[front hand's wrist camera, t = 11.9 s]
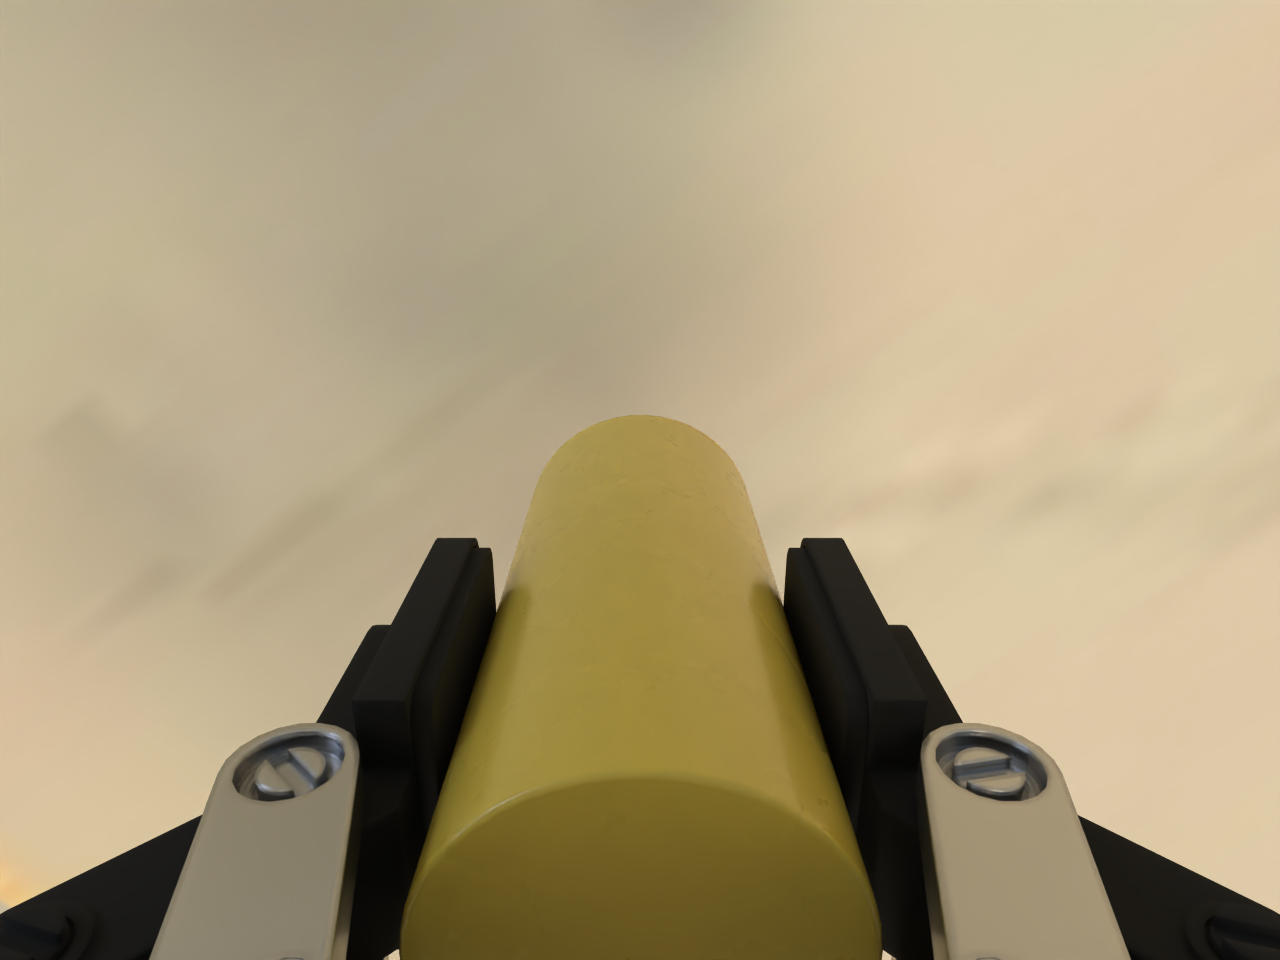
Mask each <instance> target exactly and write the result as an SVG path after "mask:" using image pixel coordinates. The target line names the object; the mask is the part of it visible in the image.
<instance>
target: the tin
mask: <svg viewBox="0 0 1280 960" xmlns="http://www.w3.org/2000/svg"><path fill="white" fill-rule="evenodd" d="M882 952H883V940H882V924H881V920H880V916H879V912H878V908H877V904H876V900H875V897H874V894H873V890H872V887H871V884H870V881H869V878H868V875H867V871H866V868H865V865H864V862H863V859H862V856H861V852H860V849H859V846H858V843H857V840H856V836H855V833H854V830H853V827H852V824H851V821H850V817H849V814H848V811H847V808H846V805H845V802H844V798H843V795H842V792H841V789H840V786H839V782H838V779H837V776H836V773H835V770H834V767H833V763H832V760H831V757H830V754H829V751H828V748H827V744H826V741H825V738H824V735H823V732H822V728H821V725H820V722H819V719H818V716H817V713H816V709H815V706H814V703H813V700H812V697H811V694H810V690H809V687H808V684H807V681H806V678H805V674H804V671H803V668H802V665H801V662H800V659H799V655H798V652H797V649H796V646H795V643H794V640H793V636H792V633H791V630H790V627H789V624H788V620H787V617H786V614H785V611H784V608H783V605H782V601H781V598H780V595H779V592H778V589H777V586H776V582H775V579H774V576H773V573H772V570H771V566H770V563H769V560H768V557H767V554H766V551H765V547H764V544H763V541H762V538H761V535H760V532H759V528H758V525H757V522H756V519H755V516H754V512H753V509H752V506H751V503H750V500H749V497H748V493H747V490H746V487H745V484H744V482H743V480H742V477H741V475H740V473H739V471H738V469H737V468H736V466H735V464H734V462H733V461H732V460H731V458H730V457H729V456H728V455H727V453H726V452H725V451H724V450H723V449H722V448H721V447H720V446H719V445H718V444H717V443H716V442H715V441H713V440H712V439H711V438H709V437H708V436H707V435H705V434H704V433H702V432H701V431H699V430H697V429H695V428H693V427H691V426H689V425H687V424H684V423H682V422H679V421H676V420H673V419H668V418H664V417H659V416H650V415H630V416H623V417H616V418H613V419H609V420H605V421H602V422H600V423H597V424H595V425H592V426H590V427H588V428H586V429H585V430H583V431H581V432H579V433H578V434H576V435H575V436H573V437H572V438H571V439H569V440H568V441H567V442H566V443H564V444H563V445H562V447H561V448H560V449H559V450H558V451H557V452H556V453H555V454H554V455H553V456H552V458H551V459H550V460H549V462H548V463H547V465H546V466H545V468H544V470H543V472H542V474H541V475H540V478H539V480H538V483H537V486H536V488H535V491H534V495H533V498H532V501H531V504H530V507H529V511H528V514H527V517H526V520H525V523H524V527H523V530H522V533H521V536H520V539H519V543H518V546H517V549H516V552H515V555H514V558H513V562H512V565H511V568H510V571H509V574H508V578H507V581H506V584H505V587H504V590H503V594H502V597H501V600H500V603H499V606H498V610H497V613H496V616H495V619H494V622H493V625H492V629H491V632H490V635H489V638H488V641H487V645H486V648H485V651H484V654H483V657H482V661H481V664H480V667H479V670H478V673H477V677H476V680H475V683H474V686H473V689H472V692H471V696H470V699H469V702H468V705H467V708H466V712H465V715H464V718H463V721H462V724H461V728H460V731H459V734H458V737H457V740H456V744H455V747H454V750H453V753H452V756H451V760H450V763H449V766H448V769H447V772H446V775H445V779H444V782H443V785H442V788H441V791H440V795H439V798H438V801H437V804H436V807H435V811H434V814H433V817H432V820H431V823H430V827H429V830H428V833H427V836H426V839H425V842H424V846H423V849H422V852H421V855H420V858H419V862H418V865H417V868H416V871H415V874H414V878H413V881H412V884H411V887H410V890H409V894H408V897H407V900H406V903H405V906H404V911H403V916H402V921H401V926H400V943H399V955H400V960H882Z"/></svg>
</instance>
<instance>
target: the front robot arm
mask: <svg viewBox="0 0 1280 960" xmlns="http://www.w3.org/2000/svg"><path fill="white" fill-rule="evenodd" d="M783 608H784V611H785V614H786V617H787V620H788V624H789V627H790V630H791V633H792V636H793V640H794V643H795V646H796V649H797V652H798V655H799V659H800V662H801V665H802V668H803V671H804V674H805V678H806V681H807V684H808V687H809V690H810V694H811V697H812V700H813V703H814V706H815V709H816V713H817V716H818V719H819V722H820V725H821V728H822V732H823V735H824V738H825V741H826V744H827V748H828V751H829V754H830V757H831V760H832V763H833V767H834V770H835V773H836V776H837V779H838V782H839V786H840V789H841V792H842V795H843V798H844V802H845V805H846V808H847V811H848V814H849V817H850V821H851V824H852V827H853V830H854V833H855V836H856V840H857V843H858V846H859V849H860V852H861V856H862V859H863V862H864V865H865V868H866V871H867V875H868V878H869V881H870V884H871V887H872V890H873V894H874V897H875V900H876V904H877V908H878V912H879V916H880V920H881V924H882V940H883V950H884V951H886V952H887V953H889V954H890V955H891V956H892V957H891V960H1280V914H1278V913H1276V912H1275V911H1273V910H1271V909H1269V908H1267V907H1265V906H1263V905H1261V904H1259V903H1257V902H1255V901H1253V900H1251V899H1248V898H1246V897H1244V896H1242V895H1240V894H1238V893H1236V892H1234V891H1232V890H1230V889H1228V888H1226V887H1224V886H1222V885H1220V884H1218V883H1216V882H1214V881H1212V880H1210V879H1208V878H1206V877H1203V876H1201V875H1199V874H1197V873H1195V872H1193V871H1191V870H1189V869H1187V868H1185V867H1183V866H1181V865H1179V864H1177V863H1175V862H1173V861H1171V860H1169V859H1167V858H1165V857H1163V856H1161V855H1158V854H1156V853H1154V852H1152V851H1150V850H1148V849H1146V848H1144V847H1142V846H1140V845H1138V844H1136V843H1134V842H1132V841H1130V840H1128V839H1126V838H1124V837H1122V836H1120V835H1118V834H1116V833H1114V832H1111V831H1109V830H1107V829H1105V828H1103V827H1101V826H1099V825H1097V824H1095V823H1093V822H1091V821H1089V820H1087V819H1085V818H1083V817H1081V816H1079V815H1077V812H1076V809H1075V807H1074V804H1073V801H1072V799H1071V796H1070V793H1069V791H1068V788H1067V785H1066V782H1065V780H1064V777H1063V774H1062V772H1061V771H1060V769H1059V767H1058V766H1057V764H1056V762H1055V761H1054V759H1053V758H1051V757H1050V756H1049V755H1048V754H1047V753H1046V752H1045V751H1044V750H1043V749H1042V748H1041V747H1039V746H1038V745H1036V744H1034V743H1033V742H1031V741H1029V740H1028V739H1026V738H1024V737H1023V736H1021V735H1018V734H1015V733H1013V732H1010V731H1008V730H1005V729H1002V728H999V727H994V726H989V725H984V724H977V723H963V722H962V720H961V718H960V716H959V715H958V713H957V711H956V709H955V708H954V706H953V704H952V702H951V701H950V699H949V697H948V695H947V693H946V692H945V690H944V688H943V686H942V685H941V683H940V681H939V679H938V678H937V676H936V674H935V672H934V671H933V669H932V667H931V665H930V663H929V662H928V660H927V658H926V656H925V655H924V653H923V651H922V649H921V648H920V646H919V644H918V642H917V641H916V639H915V637H914V635H913V633H912V632H911V630H910V629H909V628H908V627H907V626H905V625H888V624H887V622H886V620H885V618H884V616H883V614H882V612H881V610H880V608H879V606H878V605H877V603H876V601H875V599H874V597H873V595H872V593H871V591H870V589H869V587H868V586H867V584H866V582H865V580H864V578H863V576H862V574H861V572H860V570H859V568H858V566H857V565H856V563H855V561H854V559H853V557H852V555H851V553H850V551H849V549H848V547H847V546H846V544H845V542H844V540H843V539H842V538H803V540H802V542H801V547H800V548H789V549H788V553H787V562H786V576H785V591H784V606H783ZM495 616H496V602H495V587H494V572H493V558H492V552H491V549H490V548H479V545H478V541H477V539H476V538H437V539H436V540H435V542H434V544H433V546H432V548H431V550H430V552H429V554H428V556H427V557H426V559H425V561H424V563H423V565H422V567H421V569H420V571H419V573H418V575H417V576H416V578H415V580H414V582H413V584H412V586H411V588H410V590H409V592H408V594H407V596H406V597H405V599H404V601H403V603H402V605H401V607H400V609H399V611H398V613H397V615H396V616H395V618H394V620H393V622H392V624H391V625H374V626H372V627H371V628H370V629H369V631H368V632H367V634H366V636H365V637H364V639H363V641H362V643H361V645H360V646H359V648H358V650H357V652H356V653H355V655H354V657H353V659H352V660H351V662H350V664H349V666H348V667H347V669H346V671H345V673H344V675H343V676H342V678H341V680H340V682H339V683H338V685H337V687H336V689H335V690H334V692H333V694H332V696H331V698H330V699H329V701H328V703H327V705H326V706H325V708H324V710H323V712H322V713H321V715H320V717H319V719H318V720H317V722H316V723H303V724H296V725H291V726H286V727H281V728H278V729H275V730H272V731H270V732H267V733H265V734H262V735H259V736H257V737H256V738H254V739H252V740H251V741H249V742H247V743H246V744H244V745H242V746H241V747H239V748H238V749H237V750H236V751H235V752H234V753H233V754H232V755H231V756H230V757H229V758H227V759H226V761H225V762H224V764H223V766H222V767H221V769H220V771H219V772H218V774H217V777H216V780H215V782H214V785H213V788H212V791H211V793H210V796H209V799H208V801H207V804H206V807H205V809H204V812H203V815H201V816H199V817H197V818H194V819H192V820H190V821H188V822H186V823H184V824H182V825H180V826H178V827H176V828H174V829H172V830H170V831H168V832H166V833H164V834H162V835H160V836H158V837H156V838H154V839H152V840H150V841H147V842H145V843H143V844H141V845H139V846H137V847H135V848H133V849H131V850H129V851H127V852H125V853H123V854H121V855H119V856H117V857H115V858H113V859H111V860H109V861H107V862H105V863H103V864H100V865H98V866H96V867H94V868H92V869H90V870H88V871H86V872H84V873H82V874H80V875H78V876H76V877H74V878H72V879H70V880H68V881H66V882H64V883H62V884H60V885H58V886H56V887H53V888H51V889H49V890H47V891H45V892H43V893H41V894H39V895H37V896H35V897H33V898H31V899H29V900H27V901H25V902H23V903H21V904H19V905H17V906H15V907H13V908H11V909H9V910H7V911H5V912H3V913H1V914H0V960H389V957H388V955H389V954H391V953H392V952H394V951H395V950H397V949H399V943H400V926H401V921H402V916H403V911H404V906H405V903H406V900H407V897H408V894H409V890H410V887H411V884H412V881H413V878H414V874H415V871H416V868H417V865H418V862H419V858H420V855H421V852H422V849H423V846H424V842H425V839H426V836H427V833H428V830H429V827H430V823H431V820H432V817H433V814H434V811H435V807H436V804H437V801H438V798H439V795H440V791H441V788H442V785H443V782H444V779H445V775H446V772H447V769H448V766H449V763H450V760H451V756H452V753H453V750H454V747H455V744H456V740H457V737H458V734H459V731H460V728H461V724H462V721H463V718H464V715H465V712H466V708H467V705H468V702H469V699H470V696H471V692H472V689H473V686H474V683H475V680H476V677H477V673H478V670H479V667H480V664H481V661H482V657H483V654H484V651H485V648H486V645H487V641H488V638H489V635H490V632H491V629H492V625H493V622H494V619H495Z"/></svg>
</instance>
